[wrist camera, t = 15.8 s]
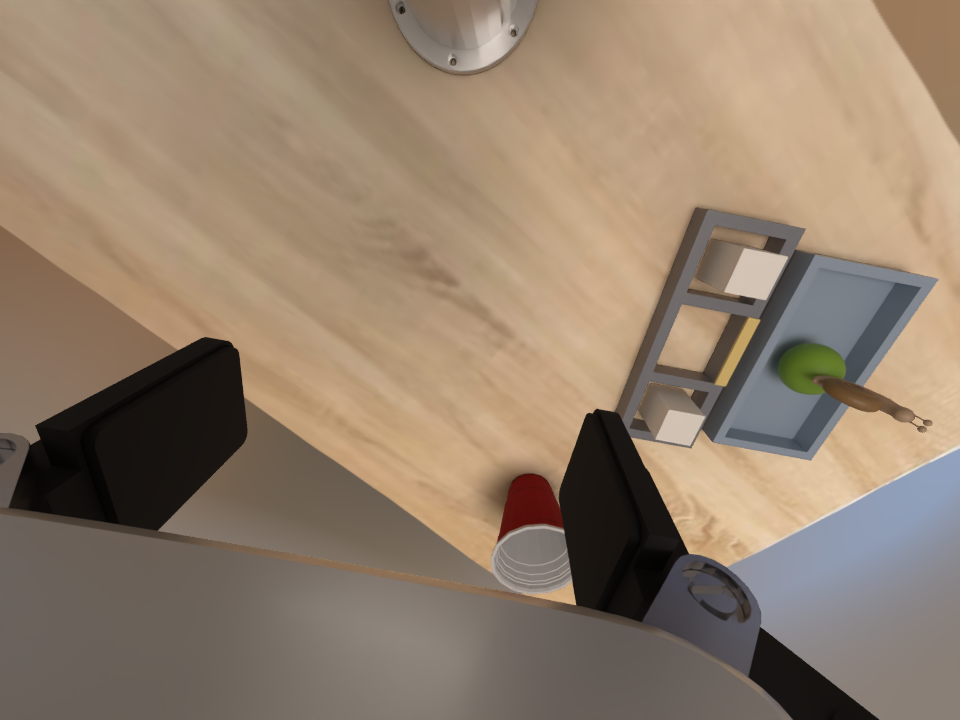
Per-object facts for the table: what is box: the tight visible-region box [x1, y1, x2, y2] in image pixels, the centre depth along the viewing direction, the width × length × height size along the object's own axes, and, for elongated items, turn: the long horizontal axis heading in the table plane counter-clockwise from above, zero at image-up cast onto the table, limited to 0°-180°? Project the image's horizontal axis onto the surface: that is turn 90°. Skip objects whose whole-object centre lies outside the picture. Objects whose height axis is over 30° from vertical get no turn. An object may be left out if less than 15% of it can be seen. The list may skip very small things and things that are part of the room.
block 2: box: [695, 239, 788, 300], centre depth 37 cm, size 4×4×6 cm
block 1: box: [639, 383, 706, 446], centre depth 45 cm, size 4×4×6 cm
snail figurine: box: [778, 343, 933, 433], centre depth 37 cm, size 5×6×12 cm
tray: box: [702, 250, 938, 460], centre depth 42 cm, size 22×12×4 cm, turn 170°
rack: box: [616, 208, 806, 448], centre depth 42 cm, size 26×9×3 cm, turn 170°
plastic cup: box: [491, 474, 572, 594], centre depth 49 cm, size 11×11×12 cm
